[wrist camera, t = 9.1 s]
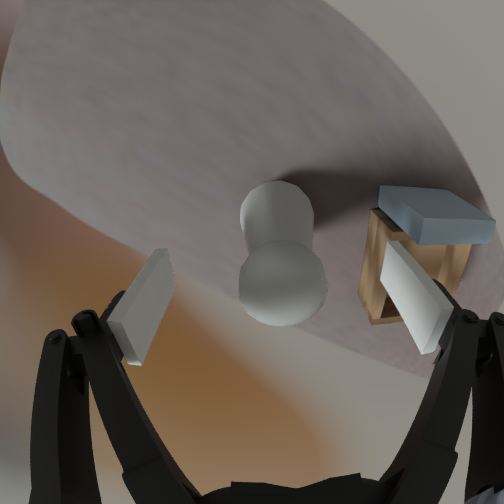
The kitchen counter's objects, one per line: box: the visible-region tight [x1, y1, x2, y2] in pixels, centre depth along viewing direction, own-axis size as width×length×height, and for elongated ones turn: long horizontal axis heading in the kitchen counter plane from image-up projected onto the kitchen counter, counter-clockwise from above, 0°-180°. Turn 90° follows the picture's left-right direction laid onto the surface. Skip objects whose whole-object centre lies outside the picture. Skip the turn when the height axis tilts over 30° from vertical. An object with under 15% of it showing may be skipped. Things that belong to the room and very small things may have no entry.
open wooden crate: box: [358, 209, 472, 325], centre depth 23 cm, size 10×10×5 cm
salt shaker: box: [239, 180, 328, 327], centre depth 18 cm, size 6×6×13 cm
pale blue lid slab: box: [378, 185, 496, 246], centre depth 18 cm, size 2×8×8 cm, turn 94°
